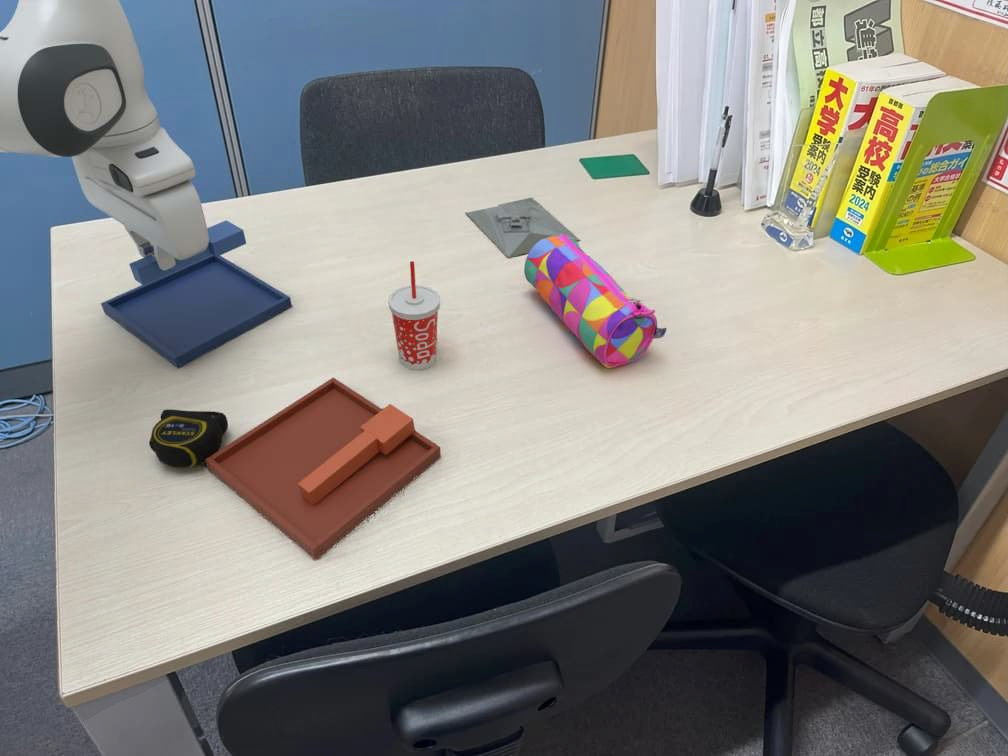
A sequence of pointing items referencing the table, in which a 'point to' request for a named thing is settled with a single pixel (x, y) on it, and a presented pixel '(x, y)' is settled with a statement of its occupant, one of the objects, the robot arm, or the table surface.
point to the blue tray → (196, 308)
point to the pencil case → (590, 302)
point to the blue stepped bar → (220, 242)
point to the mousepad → (518, 225)
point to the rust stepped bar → (358, 452)
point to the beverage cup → (415, 323)
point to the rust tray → (301, 450)
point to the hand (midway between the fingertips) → (158, 261)
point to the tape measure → (187, 437)
